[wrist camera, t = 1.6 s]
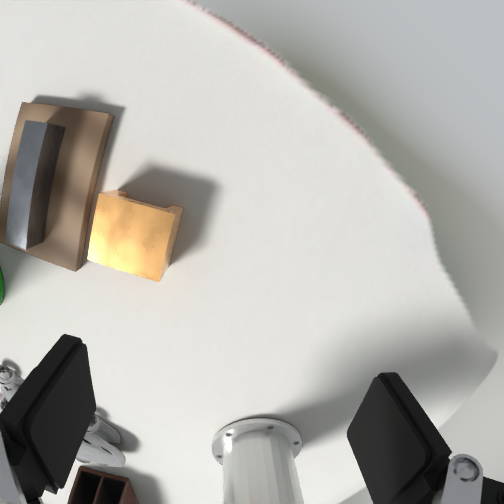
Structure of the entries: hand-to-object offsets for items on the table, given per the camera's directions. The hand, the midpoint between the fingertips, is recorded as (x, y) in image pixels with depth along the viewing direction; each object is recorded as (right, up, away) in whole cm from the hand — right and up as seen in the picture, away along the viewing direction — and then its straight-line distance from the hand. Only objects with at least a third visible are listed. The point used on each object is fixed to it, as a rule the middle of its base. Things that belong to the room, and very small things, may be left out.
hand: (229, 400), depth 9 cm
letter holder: (-27, -44, +32) cm, 61 cm away
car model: (-29, -21, +26) cm, 45 cm away
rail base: (-21, +12, +18) cm, 30 cm away
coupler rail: (-21, +12, +16) cm, 29 cm away
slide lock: (-10, +7, +20) cm, 23 cm away
